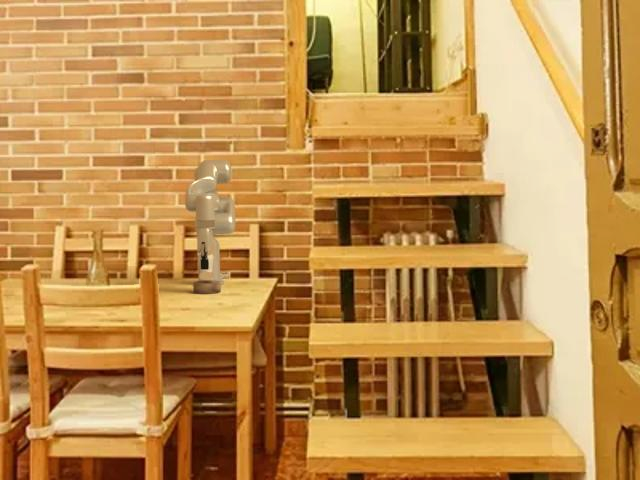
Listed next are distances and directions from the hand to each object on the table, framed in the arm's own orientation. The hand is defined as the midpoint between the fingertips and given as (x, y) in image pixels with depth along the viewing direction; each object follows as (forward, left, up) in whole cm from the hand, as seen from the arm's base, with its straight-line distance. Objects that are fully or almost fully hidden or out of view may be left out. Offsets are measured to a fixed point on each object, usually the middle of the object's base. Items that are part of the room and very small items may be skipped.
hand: (206, 267), depth 292 cm
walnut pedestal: (0, 0, -10) cm, 10 cm away
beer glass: (0, 0, -5) cm, 5 cm away
